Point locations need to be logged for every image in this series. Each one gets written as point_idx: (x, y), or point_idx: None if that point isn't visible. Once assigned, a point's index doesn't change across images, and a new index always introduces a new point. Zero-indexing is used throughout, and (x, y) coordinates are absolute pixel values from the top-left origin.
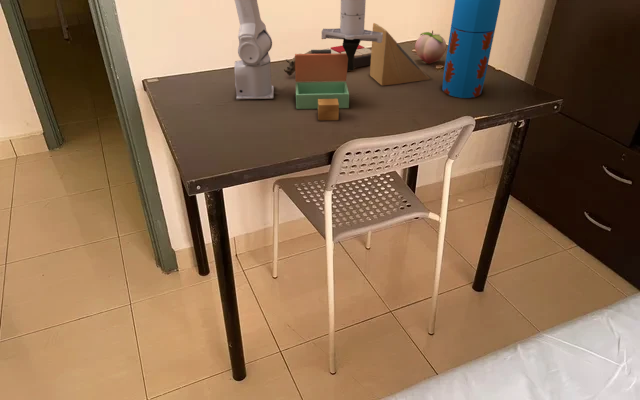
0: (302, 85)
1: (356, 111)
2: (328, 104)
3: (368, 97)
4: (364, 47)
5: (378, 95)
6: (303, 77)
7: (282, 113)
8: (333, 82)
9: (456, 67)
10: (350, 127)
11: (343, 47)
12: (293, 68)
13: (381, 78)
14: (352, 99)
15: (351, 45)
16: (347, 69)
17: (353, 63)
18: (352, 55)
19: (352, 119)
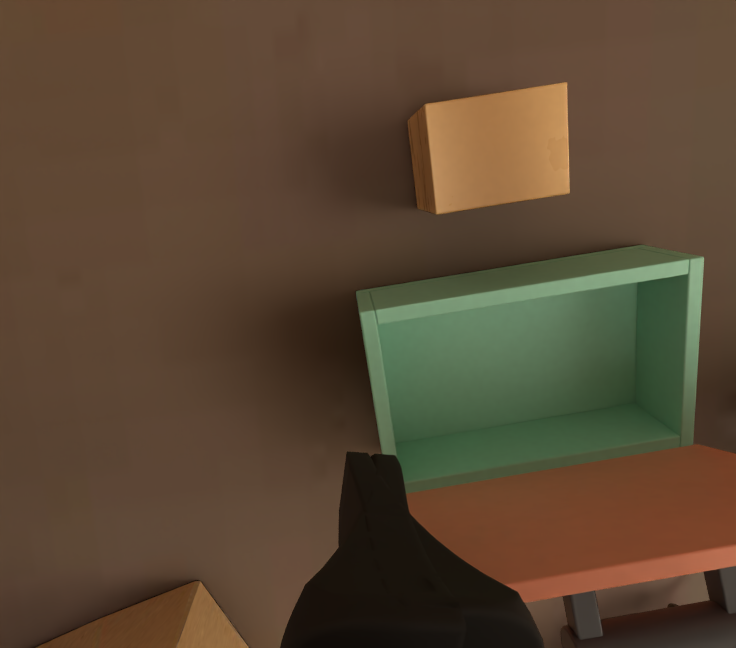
0: (642, 432)
1: (309, 253)
2: (498, 101)
3: (256, 438)
4: None
5: (204, 468)
6: (671, 459)
7: (719, 179)
8: (465, 472)
9: None
10: (329, 21)
11: (510, 589)
12: None
13: (194, 617)
14: (341, 403)
15: (398, 605)
16: (395, 457)
17: (347, 506)
18: (364, 529)
19: (325, 141)
